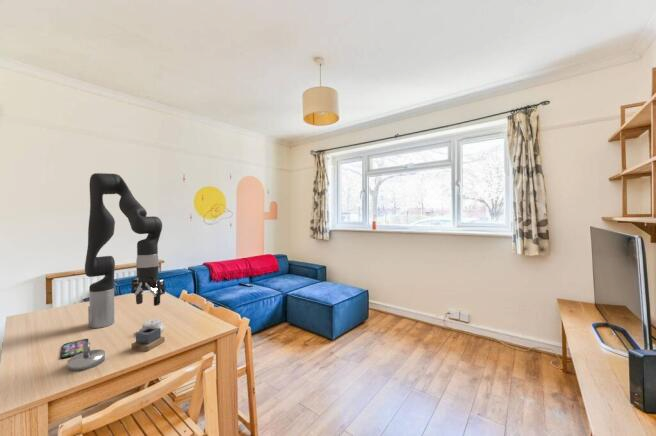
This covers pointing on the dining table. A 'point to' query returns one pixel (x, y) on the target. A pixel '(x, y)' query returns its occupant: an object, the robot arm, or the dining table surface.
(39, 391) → the dining table surface
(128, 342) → the dining table surface
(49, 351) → the dining table surface
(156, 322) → the grey rounded lump
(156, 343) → the stand
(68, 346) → the smartphone
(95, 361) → the stand
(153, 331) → the grey notched block
